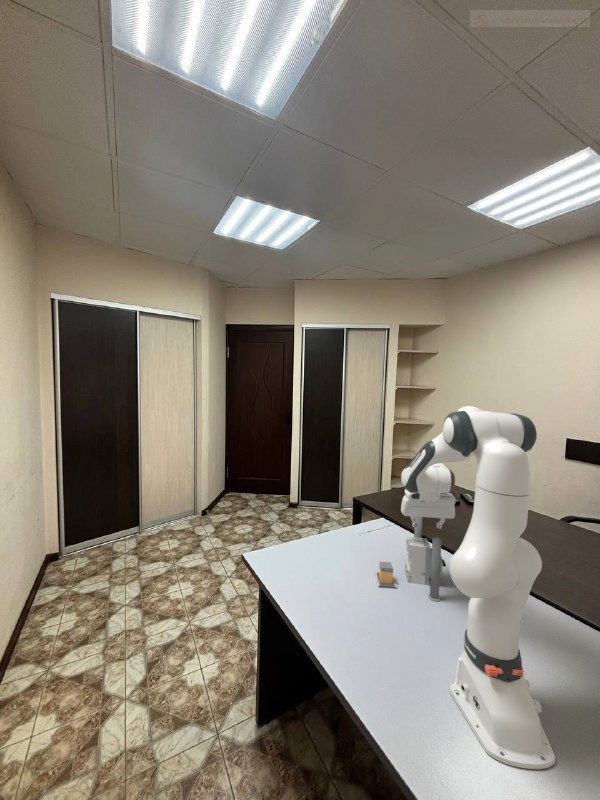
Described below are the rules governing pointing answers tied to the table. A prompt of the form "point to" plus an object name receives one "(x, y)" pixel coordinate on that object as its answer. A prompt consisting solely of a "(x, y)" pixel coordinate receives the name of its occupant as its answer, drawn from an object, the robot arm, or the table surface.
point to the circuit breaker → (419, 561)
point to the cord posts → (435, 561)
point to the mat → (385, 585)
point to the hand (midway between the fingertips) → (426, 527)
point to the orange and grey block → (386, 572)
